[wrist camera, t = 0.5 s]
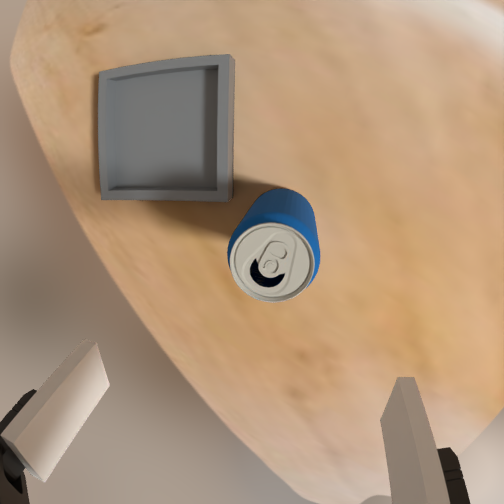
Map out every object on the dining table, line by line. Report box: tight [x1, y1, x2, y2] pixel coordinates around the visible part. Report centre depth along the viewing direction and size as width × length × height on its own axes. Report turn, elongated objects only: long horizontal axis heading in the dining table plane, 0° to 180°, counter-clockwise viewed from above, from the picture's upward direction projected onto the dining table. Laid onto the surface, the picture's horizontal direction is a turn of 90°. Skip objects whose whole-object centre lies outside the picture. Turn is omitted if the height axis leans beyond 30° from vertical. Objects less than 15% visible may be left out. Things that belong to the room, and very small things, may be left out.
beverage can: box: [227, 189, 320, 303], centre depth 27 cm, size 6×6×12 cm
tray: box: [98, 54, 235, 202], centre depth 30 cm, size 14×14×2 cm
